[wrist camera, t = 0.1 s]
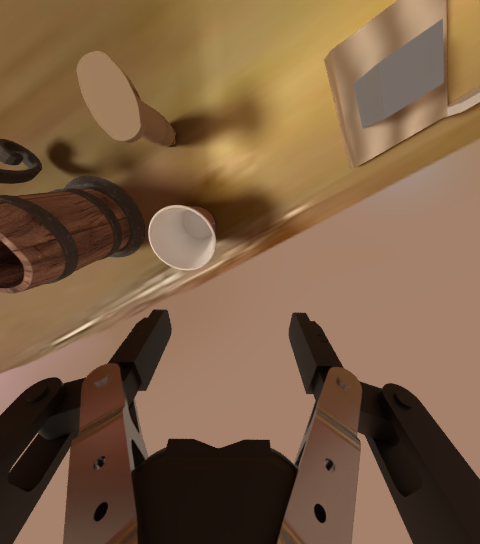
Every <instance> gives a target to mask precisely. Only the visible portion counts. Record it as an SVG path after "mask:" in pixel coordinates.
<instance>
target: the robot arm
mask: <svg viewBox="0 0 480 544" xmlns="http://www.w3.org/2000/svg"><path fill="white" fill-rule="evenodd" d="M170 336H171V323H170V319H169V314H168V311H167V310H156V309H155V310H153V311H152V313H151V314H150V315H149V317H148V318H143V319H142V320H141V321H139V322H138V323H137V324H136V325H135V327H134V328H133V329H132V331H131V333H129V335H128V336H127V338H126V339H125V340H124V342H123V343H122V345H121V346H120V347H119V349H118V350H117V351H116V353H115V354H114V355H113V357H112V358H111V360H110V361H109V362H108V363H107V364H104V365H102V366H100V367H98V368H96V369H94V370H93V371H92V372H91V373H90V374H89V375H88V376H87V377H86V378H82V379H79V380H75V381H71V382H67V383H64V384H63V383H62V381H61V380H60V379H58V378H54V377H53V378H47V379H44V380H42V381H39V382H37V383H36V384H34V385H32V386H31V387H29V388H28V389H26V390H25V391H24V392H23V393H22V394H21V395H20V396H19V397H18V398H17V399H16V400H15V401H14V402H13V403H12V404H11V405H10V406H9V407H8V408H7V409H6V410H5V411H4V412H3V413H2V414H1V415H0V544H13V542H14V541H15V539H16V537H17V536H18V534H19V532H20V530H21V529H22V527H23V525H24V524H25V522H26V521H27V519H28V517H29V515H30V514H31V512H32V510H33V509H34V507H35V505H36V504H37V502H38V500H39V499H40V497H41V495H42V494H43V492H44V490H45V489H46V487H47V485H48V484H49V482H50V480H51V479H52V477H53V475H54V473H55V472H56V470H57V468H58V467H59V465H60V463H61V462H62V460H63V458H64V457H65V455H66V453H67V452H68V450H69V448H70V460H69V473H68V486H67V499H66V512H65V525H64V539H63V544H351V543H352V533H353V522H354V512H355V502H356V492H357V481H358V471H359V461H360V450H361V443H360V440H359V439H358V438H357V432H359V433H361V434H364V435H365V437H366V439H367V441H368V443H369V445H370V448H371V450H372V452H373V454H374V457H375V459H376V461H377V464H378V466H379V468H380V470H381V473H382V475H383V477H384V479H385V481H386V483H387V486H388V488H389V491H390V493H391V495H392V497H393V500H394V502H395V504H396V506H397V508H398V511H399V513H400V515H401V517H402V520H403V522H404V524H405V526H406V529H407V531H408V533H409V535H410V538H411V540H412V542H413V544H480V479H479V478H478V477H477V475H476V474H475V473H474V471H473V470H472V469H471V467H470V466H469V465H468V463H467V462H466V461H465V459H464V458H463V457H462V456H461V454H460V453H459V452H458V450H457V449H456V448H455V447H454V445H453V444H452V443H451V441H450V440H449V439H448V437H447V436H446V435H445V433H444V432H443V431H442V429H441V428H440V427H439V426H438V424H437V423H436V422H435V420H434V419H433V418H432V416H431V415H430V414H429V412H428V411H427V410H426V408H425V407H424V406H423V405H422V403H421V402H420V401H419V400H418V399H417V397H416V396H414V395H413V394H412V393H411V392H409V391H408V390H407V389H405V388H403V387H401V386H399V385H396V384H392V383H389V384H386V385H384V387H383V388H382V389H381V388H378V387H375V386H372V385H368V384H365V383H363V382H360V381H359V380H358V379H357V378H356V376H355V375H353V374H352V373H351V372H350V371H348V370H346V369H344V368H343V366H342V364H341V362H340V361H339V359H338V357H337V355H336V353H335V352H334V350H333V348H332V346H331V344H330V343H329V341H328V339H327V337H326V336H325V333H324V332H323V330H322V328H321V327H320V326H319V325H318V324H317V323H316V322H315V321H310V320H309V318H308V316H307V314H306V313H293V314H292V318H291V323H290V327H289V339H290V343H291V346H292V349H293V352H294V356H295V359H296V362H297V365H298V368H299V372H300V375H301V378H302V381H303V384H304V388H305V391H306V394H314V397H315V400H316V401H315V404H314V407H313V410H312V413H311V416H310V419H309V422H308V425H307V428H306V431H305V434H304V437H303V440H302V443H301V445H300V448H299V451H298V453H297V457H296V459H295V462H294V464H293V463H292V462H291V461H290V460H288V459H287V458H286V457H285V456H284V455H282V454H281V453H280V452H278V451H276V450H274V449H272V448H270V440H242V441H240V442H237V443H234V444H231V445H228V446H225V447H222V448H215V447H212V446H210V445H207V444H205V443H202V442H200V441H197V440H195V439H169V440H168V444H167V447H166V448H163V449H161V450H159V451H157V452H156V453H154V454H153V455H151V456H150V457H148V454H147V450H146V447H145V443H144V440H143V437H142V433H141V427H140V423H139V417H138V412H137V407H136V402H135V396H136V394H137V392H138V391H146V390H147V387H148V385H149V383H150V381H151V379H152V376H153V374H154V372H155V369H156V367H157V365H158V363H159V361H160V359H161V356H162V354H163V352H164V350H165V347H166V345H167V343H168V341H169V339H170ZM37 433H39V434H38V435H37V436H36V438H35V439H34V441H33V442H32V443H31V444H30V446H29V447H28V448H27V450H26V451H25V452H24V454H23V455H22V456H21V458H20V459H19V461H18V462H17V463H16V464H15V466H14V467H13V468H12V466H13V464H14V463H15V462H16V460H17V459H18V458H19V456H20V455H21V454H22V452H23V451H24V450H25V448H26V447H27V446H28V445H29V443H30V442H31V441H32V439H33V438H34V437H35V435H36V434H37ZM78 433H79V434H78ZM11 468H12V470H11V471H10V469H11ZM9 471H10V472H9Z"/></svg>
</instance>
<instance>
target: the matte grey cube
mask: <svg viewBox="0 0 480 544" xmlns="http://www.w3.org/2000/svg"><path fill="white" fill-rule="evenodd" d="M443 83H444V55H443V19H441V20H440V21H438V22H437V23H436V24H434V25H433V26H431V27H430V28H428V29H427V30H425V31H424V32H422V33H421V34H420V35H418V36H417V37H415V38H414V39H412V40H411V41H409V42H408V43H407V44H405V45H404V46H402V47H401V48H399V49H398V50H396V51H395V52H393V53H392V54H391V55H389V56H388V57H386V58H385V59H383V60H382V61H380V62H379V63H378V64H376V65H375V66H374V67H373V68H372V69H371V70H369V71H368V72H367V73H366V74H365V75H364V76H362V77H361V78H360V79H359V80H358V81H357V82H355V83H354V88H355V94H356V99H357V104H358V109H359V114H360V119H361V125H362V129H363V128H365V127H367V126H370V125H372V124H374V123H377V122H379V121H381V120H384V119H386V118H387V117H389V116H391V115H392V114H394V113H395V112H397V111H399V110H400V109H402V108H404V107H405V106H407V105H409V104H410V103H412V102H413V101H415V100H417V99H418V98H420V97H422V96H423V95H425V94H426V93H428V92H430V91H431V90H433V89H435V88H436V87H438V86H440V85H441V84H443Z"/></svg>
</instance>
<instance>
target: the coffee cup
mask: <svg viewBox="0 0 480 544" xmlns="http://www.w3.org/2000/svg"><path fill="white" fill-rule="evenodd" d="M159 214H160V215H159ZM215 231H216V225H215V221H214V218H213V216H212V215H211V214H210V212H208V211H207V210H206V209H204V208H201V207H198V206H183V205H171V206H167V207H165V208H163V209H161V210H159V211H158V212H157V213H156V214H155V215H154V216H153V218H152V220H151V222H150V225H149V231H148V235H149V241H150V244H151V247H152V249H153V250H154V252H155V253H156V255H157V256H158V257H159V258H160V259H161V260H162V261H163V262H165V263H166V264H168V265H169V266H171V267H174V268H176V269H180V270H194V269H198V268H200V267H202V266H204V265H205V264H207V263H208V262H209V261H210V260H211V258H212V257H213V255H214V252H215V249H216V236H215ZM209 256H210V257H209Z"/></svg>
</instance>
